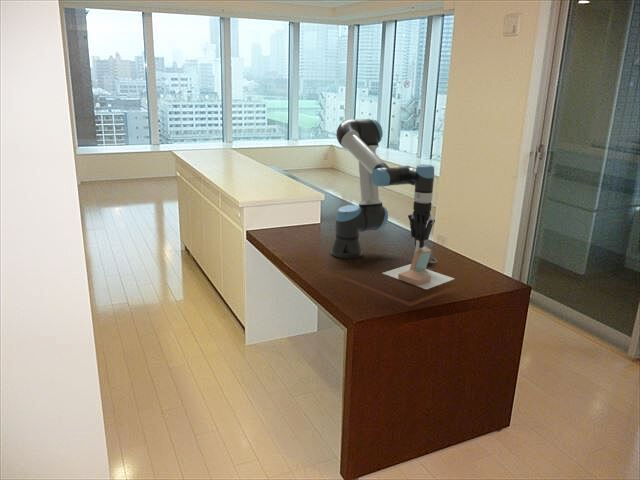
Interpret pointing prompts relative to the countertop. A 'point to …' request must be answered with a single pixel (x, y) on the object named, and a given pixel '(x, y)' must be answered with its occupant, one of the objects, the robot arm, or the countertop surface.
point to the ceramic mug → (429, 257)
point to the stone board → (435, 277)
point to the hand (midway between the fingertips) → (418, 254)
